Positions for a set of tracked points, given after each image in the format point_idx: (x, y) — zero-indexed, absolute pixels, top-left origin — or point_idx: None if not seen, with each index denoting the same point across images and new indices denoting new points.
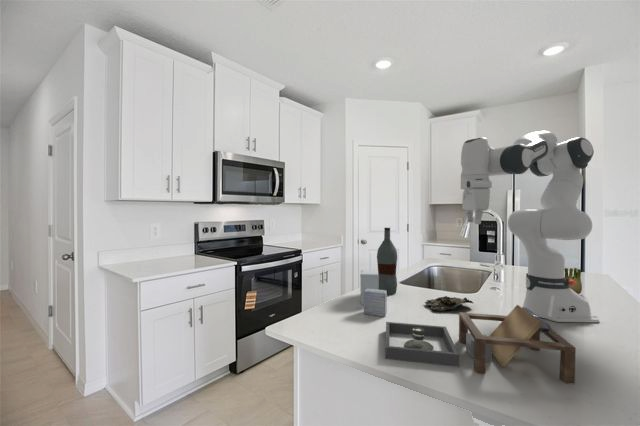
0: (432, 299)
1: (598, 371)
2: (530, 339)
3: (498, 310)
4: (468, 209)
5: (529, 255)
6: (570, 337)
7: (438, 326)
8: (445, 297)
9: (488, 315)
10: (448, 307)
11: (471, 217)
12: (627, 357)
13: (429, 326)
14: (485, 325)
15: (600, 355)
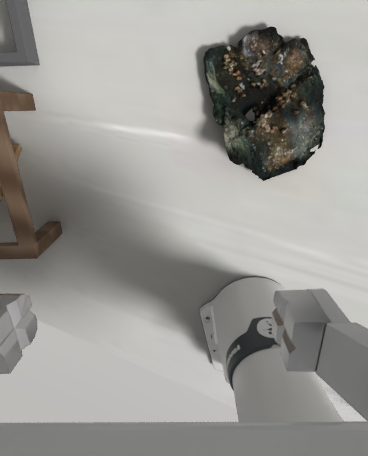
0: (303, 59)
1: (11, 280)
2: (45, 228)
3: (252, 229)
4: (132, 425)
5: (291, 402)
6: (129, 299)
7: (20, 40)
8: (299, 103)
9: (3, 163)
10: (239, 104)
11: (319, 360)
12: (78, 332)
13: (8, 12)
14: (142, 174)
15: (70, 306)
